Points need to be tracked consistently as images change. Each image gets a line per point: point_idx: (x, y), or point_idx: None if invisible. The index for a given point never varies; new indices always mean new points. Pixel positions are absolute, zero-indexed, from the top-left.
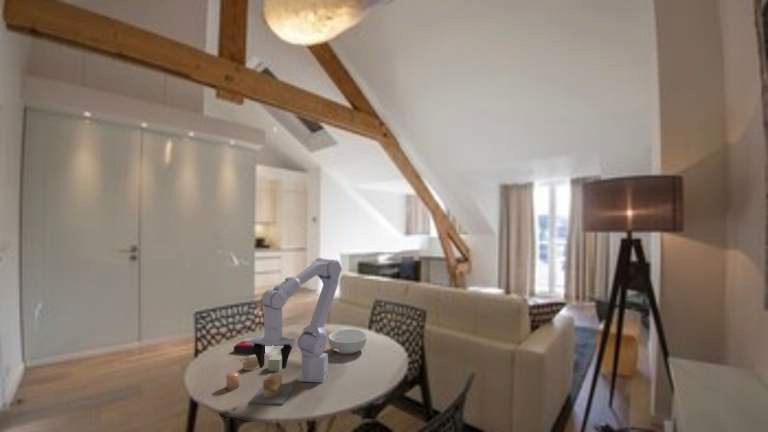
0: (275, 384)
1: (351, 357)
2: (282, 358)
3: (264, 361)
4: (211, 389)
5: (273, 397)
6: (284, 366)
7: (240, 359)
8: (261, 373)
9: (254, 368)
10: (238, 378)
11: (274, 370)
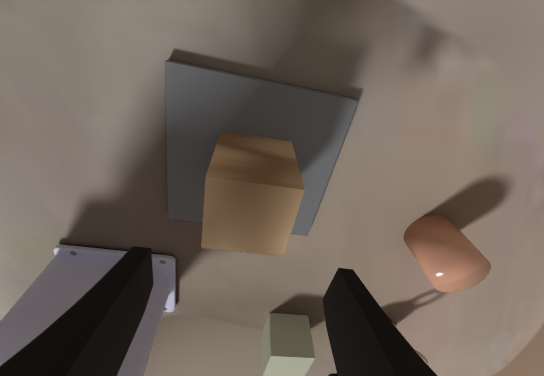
0: (219, 162)
1: None
2: (74, 350)
3: (327, 329)
4: (507, 223)
5: (237, 129)
6: (120, 266)
7: (422, 358)
8: None
9: None
10: (425, 258)
11: (286, 315)
